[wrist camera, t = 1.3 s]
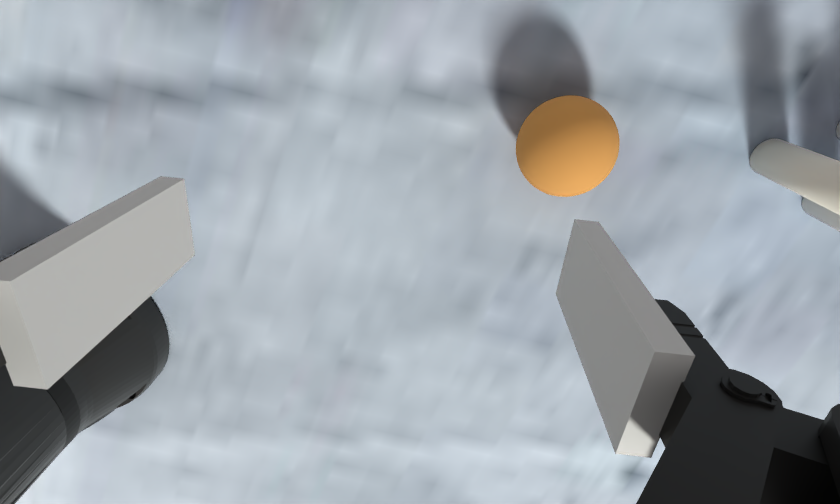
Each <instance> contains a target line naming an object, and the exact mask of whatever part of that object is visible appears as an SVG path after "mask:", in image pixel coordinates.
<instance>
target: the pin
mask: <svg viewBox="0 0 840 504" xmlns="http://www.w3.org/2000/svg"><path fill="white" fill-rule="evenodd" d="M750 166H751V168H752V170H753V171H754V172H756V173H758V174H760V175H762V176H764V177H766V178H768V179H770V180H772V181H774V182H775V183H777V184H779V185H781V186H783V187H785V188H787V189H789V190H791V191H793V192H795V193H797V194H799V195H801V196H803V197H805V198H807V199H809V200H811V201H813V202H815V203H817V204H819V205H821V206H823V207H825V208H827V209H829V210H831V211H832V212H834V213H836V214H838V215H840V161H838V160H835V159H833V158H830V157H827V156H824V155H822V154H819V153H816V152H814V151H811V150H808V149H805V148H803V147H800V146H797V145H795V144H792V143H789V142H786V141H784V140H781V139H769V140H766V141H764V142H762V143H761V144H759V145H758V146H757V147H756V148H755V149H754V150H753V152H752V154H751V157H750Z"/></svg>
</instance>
